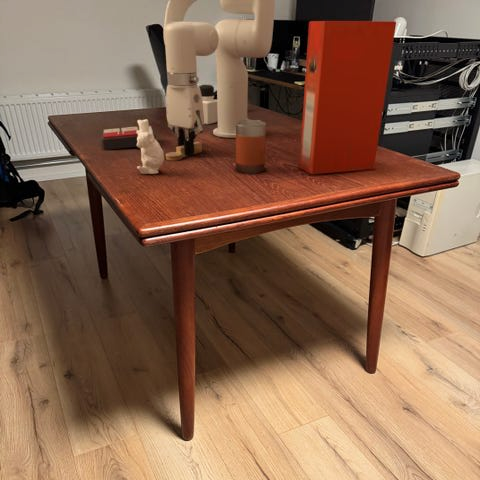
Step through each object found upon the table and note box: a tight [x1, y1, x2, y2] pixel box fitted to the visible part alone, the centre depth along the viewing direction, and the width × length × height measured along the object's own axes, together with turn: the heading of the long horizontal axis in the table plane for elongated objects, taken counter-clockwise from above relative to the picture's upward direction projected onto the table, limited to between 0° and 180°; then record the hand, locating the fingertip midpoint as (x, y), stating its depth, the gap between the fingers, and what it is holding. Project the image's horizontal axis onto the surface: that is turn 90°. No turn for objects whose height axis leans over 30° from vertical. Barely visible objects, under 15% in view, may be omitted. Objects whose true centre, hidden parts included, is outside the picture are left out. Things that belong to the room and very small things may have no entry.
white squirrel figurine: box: [136, 119, 165, 175], centre depth 115 cm, size 8×7×12 cm
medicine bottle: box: [198, 84, 218, 125], centre depth 168 cm, size 7×7×12 cm
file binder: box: [298, 20, 397, 176], centre depth 113 cm, size 8×17×32 cm, turn 108°
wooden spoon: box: [165, 141, 203, 162], centre depth 131 cm, size 12×4×3 cm, turn 141°
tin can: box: [235, 119, 267, 175], centre depth 117 cm, size 7×7×11 cm
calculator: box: [101, 125, 157, 151], centre depth 141 cm, size 11×4×15 cm
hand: (186, 153), depth 132 cm, fingers closed on wooden spoon
